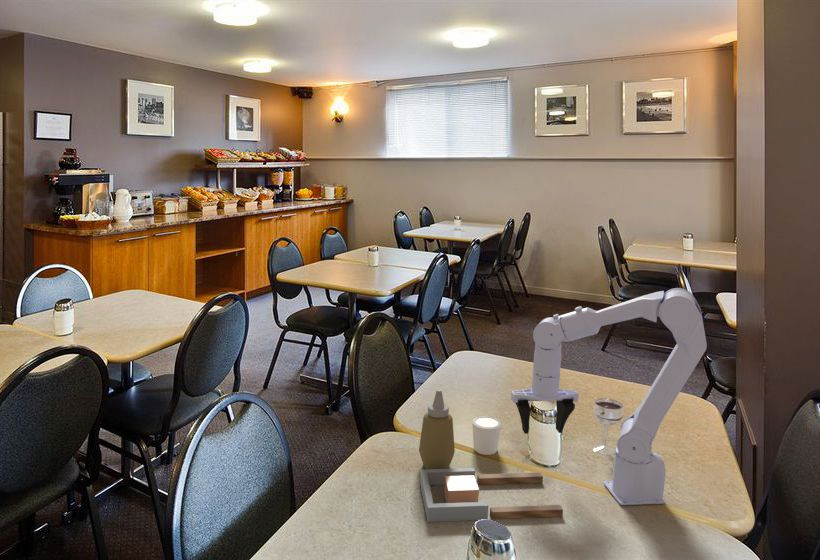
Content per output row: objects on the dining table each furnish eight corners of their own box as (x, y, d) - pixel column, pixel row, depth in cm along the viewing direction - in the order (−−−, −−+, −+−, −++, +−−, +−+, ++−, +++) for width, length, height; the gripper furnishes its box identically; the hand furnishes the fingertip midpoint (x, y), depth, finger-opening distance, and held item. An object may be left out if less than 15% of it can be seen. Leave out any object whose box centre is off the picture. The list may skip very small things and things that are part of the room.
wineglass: (586, 442, 130) (590, 397, 128) (614, 444, 129) (619, 398, 127) (593, 456, 123) (597, 408, 121) (622, 458, 123) (627, 410, 120)
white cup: (499, 457, 122) (500, 430, 120) (469, 454, 123) (471, 426, 122) (500, 443, 128) (501, 417, 127) (472, 440, 130) (473, 414, 128)
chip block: (472, 492, 108) (473, 475, 107) (477, 507, 103) (478, 489, 102) (444, 493, 107) (444, 476, 107) (448, 508, 103) (448, 490, 102)
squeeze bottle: (455, 476, 114) (458, 399, 110) (418, 475, 114) (420, 398, 110) (452, 456, 122) (455, 384, 118) (418, 455, 122) (420, 383, 118)
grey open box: (473, 480, 112) (473, 467, 111) (487, 519, 99) (488, 505, 99) (419, 482, 111) (420, 469, 110) (427, 521, 98) (427, 507, 97)
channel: (540, 478, 113) (540, 472, 113) (562, 516, 101) (563, 509, 100) (477, 480, 112) (477, 474, 112) (491, 519, 99) (492, 512, 99)
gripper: (571, 366, 117) (566, 422, 120) (508, 367, 116) (505, 423, 118) (584, 377, 110) (579, 437, 113) (517, 378, 109) (514, 438, 111)
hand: (542, 431), depth 115 cm, fingers open, 7 cm apart
